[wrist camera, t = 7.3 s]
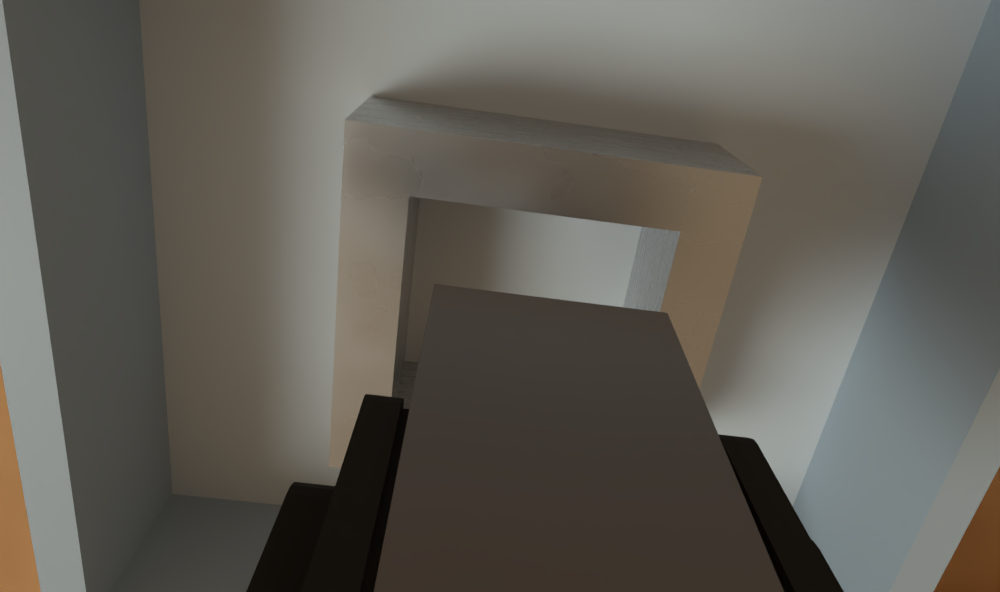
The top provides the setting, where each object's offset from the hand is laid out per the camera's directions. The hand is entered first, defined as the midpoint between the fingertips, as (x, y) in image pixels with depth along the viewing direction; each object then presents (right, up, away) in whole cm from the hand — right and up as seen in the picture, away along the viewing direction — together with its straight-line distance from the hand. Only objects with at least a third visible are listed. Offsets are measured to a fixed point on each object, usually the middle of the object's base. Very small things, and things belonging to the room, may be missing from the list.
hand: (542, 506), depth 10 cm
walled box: (0, +4, +8) cm, 9 cm away
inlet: (0, +3, +8) cm, 8 cm away
